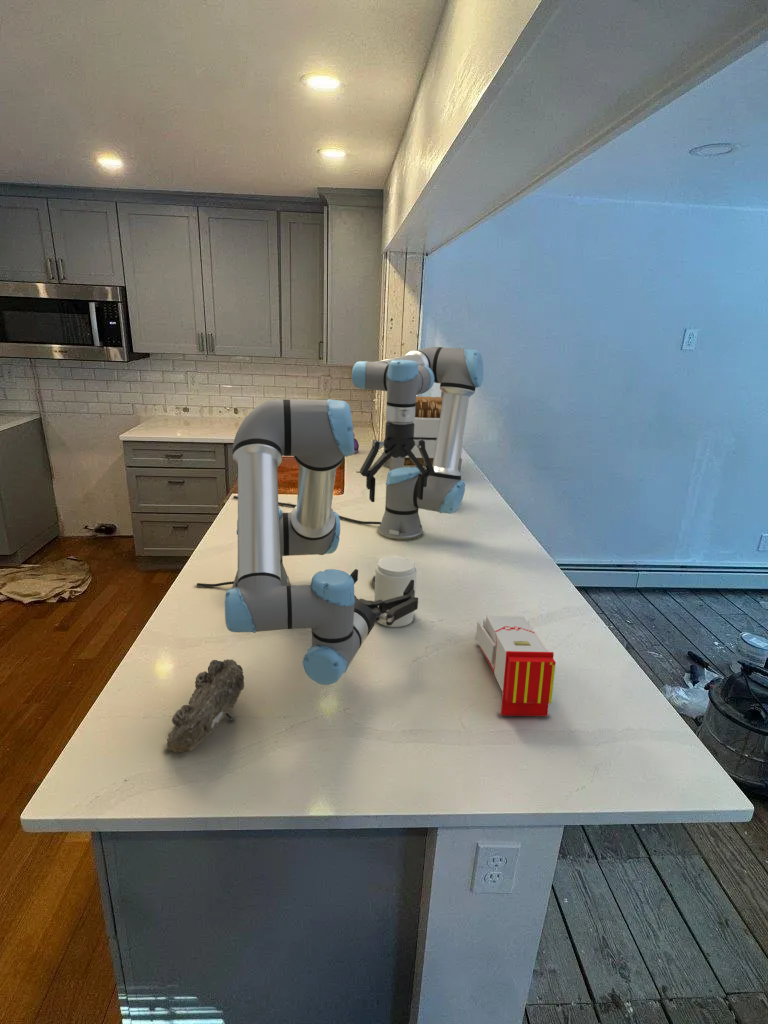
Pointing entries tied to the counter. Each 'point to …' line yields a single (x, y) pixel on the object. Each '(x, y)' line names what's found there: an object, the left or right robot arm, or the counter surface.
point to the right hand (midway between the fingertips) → (396, 499)
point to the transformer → (423, 432)
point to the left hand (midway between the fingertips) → (384, 579)
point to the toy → (518, 664)
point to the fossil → (206, 705)
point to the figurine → (355, 443)
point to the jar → (394, 582)
